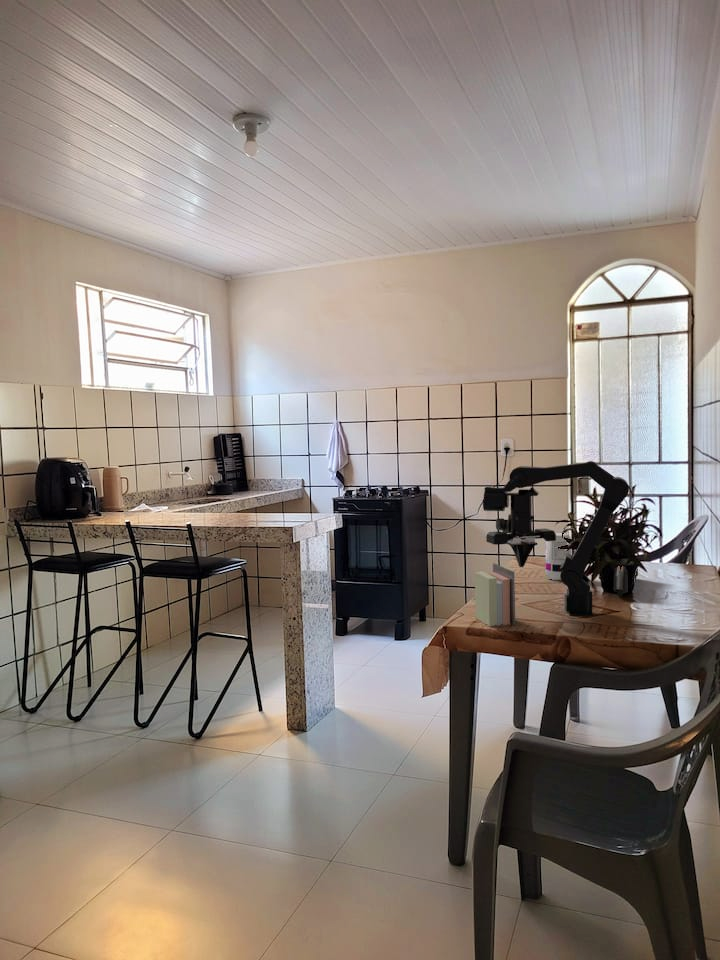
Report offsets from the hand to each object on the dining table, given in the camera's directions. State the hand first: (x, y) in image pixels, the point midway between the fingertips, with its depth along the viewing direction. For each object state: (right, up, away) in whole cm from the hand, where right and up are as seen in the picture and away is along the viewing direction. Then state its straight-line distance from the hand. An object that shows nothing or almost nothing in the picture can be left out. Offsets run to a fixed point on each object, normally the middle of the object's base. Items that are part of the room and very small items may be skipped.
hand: (521, 566), depth 197 cm
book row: (-10, -13, -10) cm, 19 cm away
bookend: (-6, -13, -9) cm, 17 cm away
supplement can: (+21, -9, +38) cm, 45 cm away
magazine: (+38, -10, +22) cm, 45 cm away
